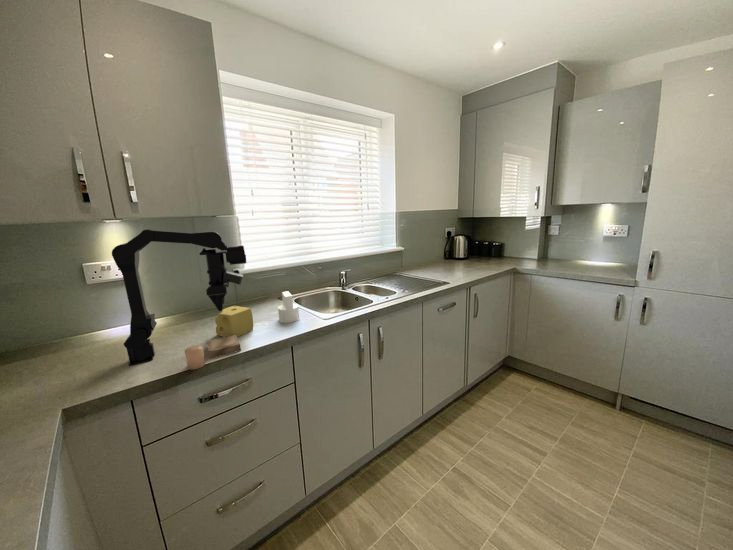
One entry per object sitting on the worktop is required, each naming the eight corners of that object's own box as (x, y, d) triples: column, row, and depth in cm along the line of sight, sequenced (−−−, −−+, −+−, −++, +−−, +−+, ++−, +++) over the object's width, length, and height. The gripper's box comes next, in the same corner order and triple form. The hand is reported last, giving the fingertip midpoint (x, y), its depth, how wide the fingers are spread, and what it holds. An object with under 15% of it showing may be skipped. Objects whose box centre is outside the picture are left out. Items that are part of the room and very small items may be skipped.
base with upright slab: (277, 317, 138) (275, 293, 135) (297, 314, 141) (294, 290, 139) (280, 324, 130) (278, 298, 127) (301, 320, 133) (299, 294, 131)
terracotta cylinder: (187, 371, 93) (184, 353, 92) (187, 364, 97) (184, 347, 96) (205, 366, 96) (202, 349, 94) (204, 360, 100) (202, 343, 99)
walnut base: (209, 358, 101) (208, 351, 100) (207, 347, 109) (206, 340, 109) (240, 350, 106) (239, 343, 105) (236, 340, 114) (235, 334, 114)
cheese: (216, 335, 120) (212, 312, 118) (238, 326, 130) (235, 304, 127) (233, 339, 115) (230, 315, 113) (255, 329, 125) (252, 307, 123)
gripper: (239, 268, 102) (244, 311, 105) (240, 260, 119) (244, 298, 122) (203, 271, 98) (209, 316, 101) (209, 263, 115) (214, 301, 118)
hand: (221, 307), depth 111 cm, fingers open, 9 cm apart
